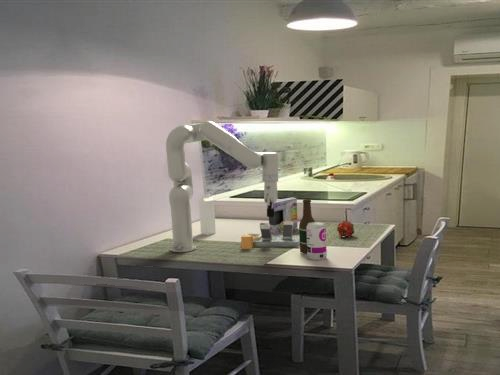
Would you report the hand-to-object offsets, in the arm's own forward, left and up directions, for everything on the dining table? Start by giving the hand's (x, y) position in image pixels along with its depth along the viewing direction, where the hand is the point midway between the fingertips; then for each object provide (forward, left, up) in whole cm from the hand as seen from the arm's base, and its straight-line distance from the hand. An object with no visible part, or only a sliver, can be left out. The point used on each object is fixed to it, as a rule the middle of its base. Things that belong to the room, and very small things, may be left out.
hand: (270, 216), depth 223 cm
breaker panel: (+7, +1, -15) cm, 16 cm away
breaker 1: (+5, +3, -12) cm, 13 cm away
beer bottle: (-8, -19, -15) cm, 25 cm away
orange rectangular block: (-3, +11, -15) cm, 19 cm away
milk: (+28, +42, -15) cm, 53 cm away
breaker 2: (+5, -7, -12) cm, 14 cm away
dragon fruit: (+24, -34, -15) cm, 44 cm away
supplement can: (-18, -24, -15) cm, 34 cm away
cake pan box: (+37, +1, -15) cm, 40 cm away
